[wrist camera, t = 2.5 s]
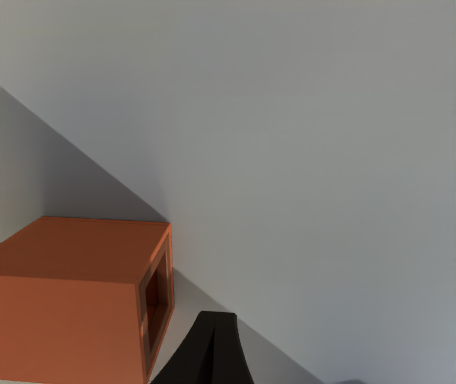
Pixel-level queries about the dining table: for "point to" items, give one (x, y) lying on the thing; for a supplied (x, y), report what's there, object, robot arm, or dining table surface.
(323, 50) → the dining table surface
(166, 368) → the robot arm
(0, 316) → the orange open-ended box
